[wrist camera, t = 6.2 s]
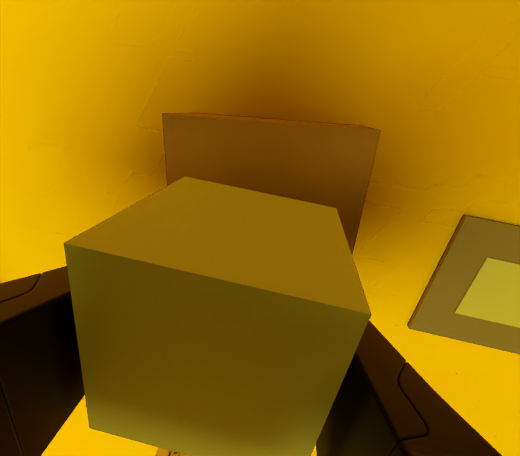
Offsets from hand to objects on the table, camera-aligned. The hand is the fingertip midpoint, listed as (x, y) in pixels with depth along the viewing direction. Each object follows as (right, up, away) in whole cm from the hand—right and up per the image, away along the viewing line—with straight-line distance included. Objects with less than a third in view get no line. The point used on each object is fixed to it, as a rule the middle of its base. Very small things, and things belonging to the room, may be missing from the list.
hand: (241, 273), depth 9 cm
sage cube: (0, 0, +1) cm, 1 cm away
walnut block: (+1, +3, +8) cm, 9 cm away
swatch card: (+15, -2, +7) cm, 17 cm away
